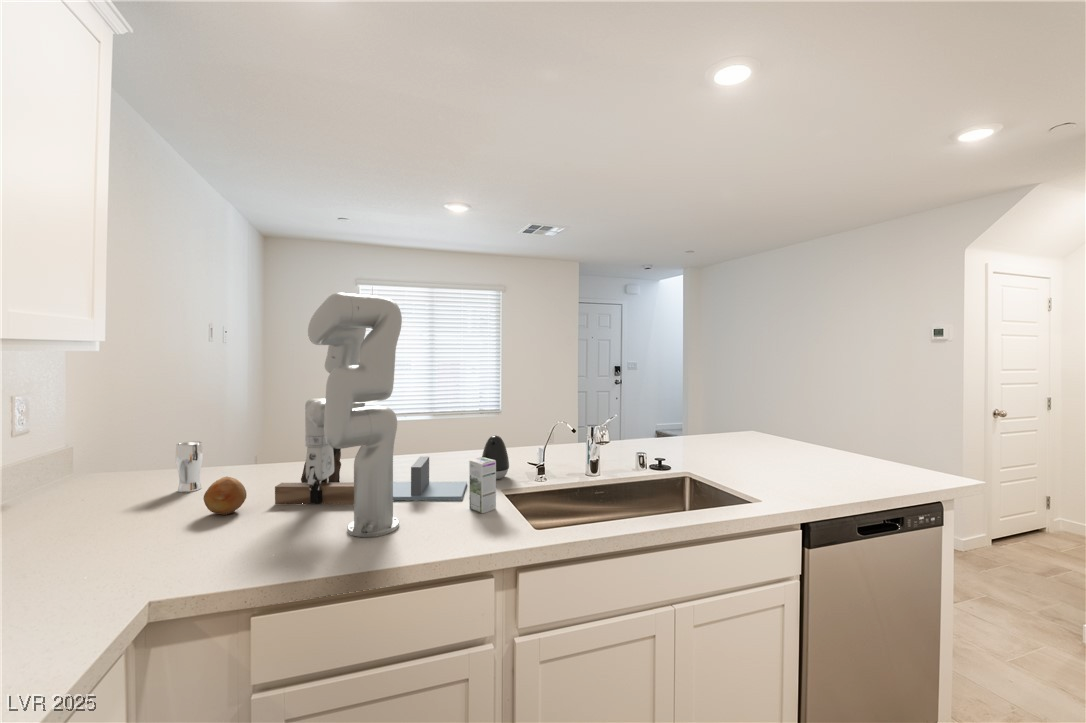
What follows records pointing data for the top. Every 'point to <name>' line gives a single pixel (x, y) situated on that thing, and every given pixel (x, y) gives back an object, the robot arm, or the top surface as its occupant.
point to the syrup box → (482, 484)
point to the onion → (225, 496)
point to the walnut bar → (301, 493)
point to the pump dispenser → (497, 455)
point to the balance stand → (426, 486)
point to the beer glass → (189, 465)
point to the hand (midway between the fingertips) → (319, 500)
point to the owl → (337, 465)
